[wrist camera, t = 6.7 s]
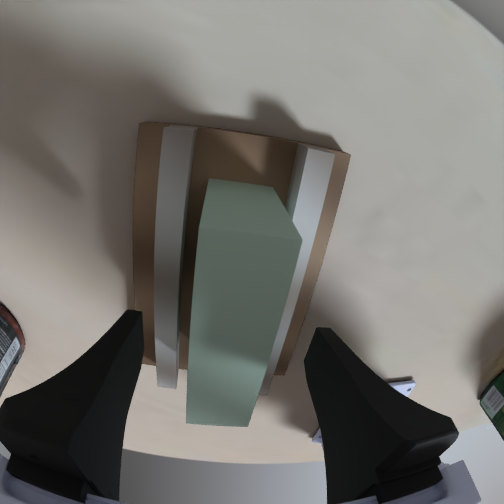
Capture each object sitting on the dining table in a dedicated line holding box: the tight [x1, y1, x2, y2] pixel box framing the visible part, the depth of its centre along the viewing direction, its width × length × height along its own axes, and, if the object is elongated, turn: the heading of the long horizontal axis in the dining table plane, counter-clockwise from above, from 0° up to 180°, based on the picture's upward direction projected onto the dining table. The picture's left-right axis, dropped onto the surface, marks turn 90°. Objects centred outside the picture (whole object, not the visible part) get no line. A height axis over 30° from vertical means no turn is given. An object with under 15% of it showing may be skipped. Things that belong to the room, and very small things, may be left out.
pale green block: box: [186, 178, 303, 427], centre depth 14 cm, size 10×3×6 cm, turn 170°
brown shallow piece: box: [133, 122, 351, 395], centre depth 16 cm, size 15×10×3 cm, turn 170°
